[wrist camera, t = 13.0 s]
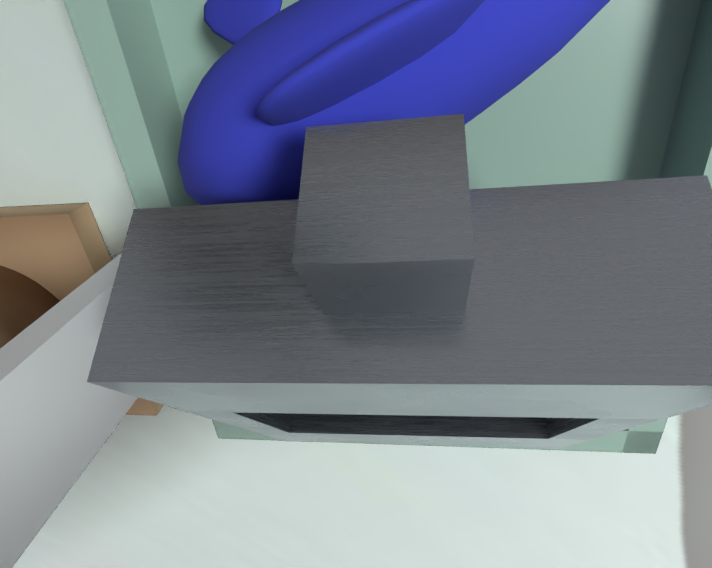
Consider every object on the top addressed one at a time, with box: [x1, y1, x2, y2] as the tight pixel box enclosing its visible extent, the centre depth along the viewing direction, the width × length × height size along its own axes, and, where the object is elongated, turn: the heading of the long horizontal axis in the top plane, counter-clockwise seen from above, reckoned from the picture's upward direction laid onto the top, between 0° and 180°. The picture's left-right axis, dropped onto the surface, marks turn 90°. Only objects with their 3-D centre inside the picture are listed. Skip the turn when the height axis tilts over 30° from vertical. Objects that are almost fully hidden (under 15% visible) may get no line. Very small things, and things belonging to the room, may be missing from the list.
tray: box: [64, 0, 712, 454], centre depth 13 cm, size 16×15×2 cm
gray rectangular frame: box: [87, 114, 712, 448], centre depth 10 cm, size 9×12×3 cm
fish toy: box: [178, 0, 610, 205], centre depth 8 cm, size 15×8×7 cm, turn 120°
